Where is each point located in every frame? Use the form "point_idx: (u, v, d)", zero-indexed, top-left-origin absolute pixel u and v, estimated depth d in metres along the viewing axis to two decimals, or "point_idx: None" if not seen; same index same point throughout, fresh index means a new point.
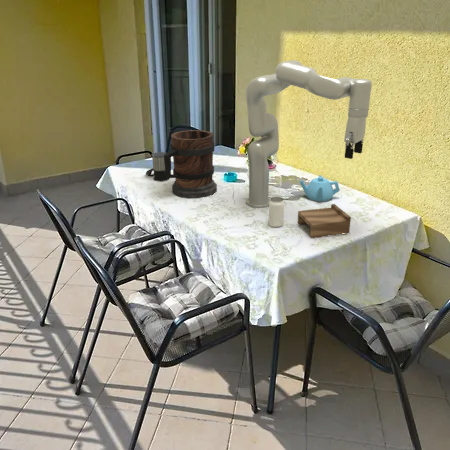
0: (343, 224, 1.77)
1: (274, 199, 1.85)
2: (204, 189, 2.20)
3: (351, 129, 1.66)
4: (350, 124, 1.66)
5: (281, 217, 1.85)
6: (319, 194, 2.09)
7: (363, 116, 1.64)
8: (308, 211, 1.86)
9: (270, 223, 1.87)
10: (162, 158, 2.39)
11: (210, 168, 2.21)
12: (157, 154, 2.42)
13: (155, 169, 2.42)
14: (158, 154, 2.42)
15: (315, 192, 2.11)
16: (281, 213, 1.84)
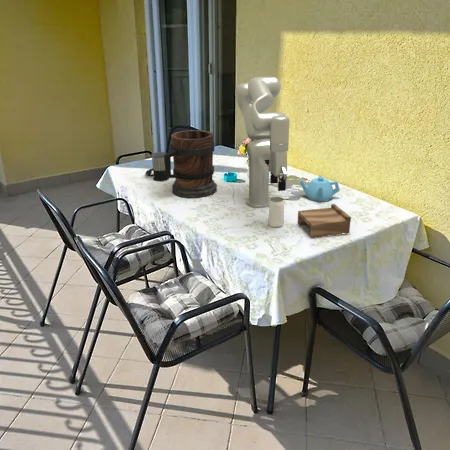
0: (343, 224, 1.77)
1: (274, 199, 1.85)
2: (204, 189, 2.20)
3: (283, 163, 1.72)
4: (281, 159, 1.72)
5: (281, 217, 1.85)
6: (319, 194, 2.09)
7: (287, 149, 1.73)
8: (308, 211, 1.86)
9: (270, 223, 1.87)
10: (162, 158, 2.39)
11: (210, 168, 2.21)
12: (157, 154, 2.42)
13: (155, 169, 2.43)
14: (158, 154, 2.42)
15: (315, 192, 2.11)
16: (281, 213, 1.84)
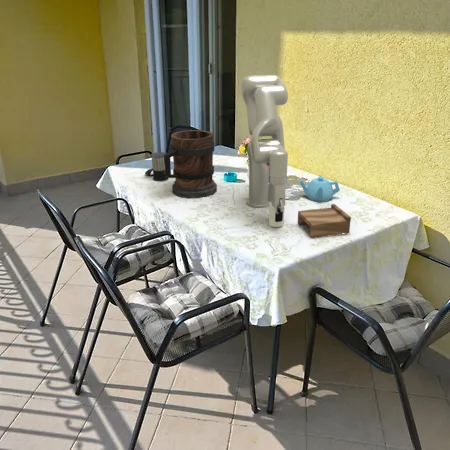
0: (343, 224, 1.77)
1: None
2: (204, 189, 2.20)
3: (281, 196, 1.78)
4: (279, 191, 1.78)
5: None
6: (319, 194, 2.09)
7: (286, 182, 1.79)
8: (308, 211, 1.86)
9: (270, 223, 1.87)
10: (161, 158, 2.39)
11: (210, 168, 2.21)
12: (156, 154, 2.42)
13: (154, 169, 2.43)
14: (157, 154, 2.42)
15: (315, 192, 2.11)
16: None
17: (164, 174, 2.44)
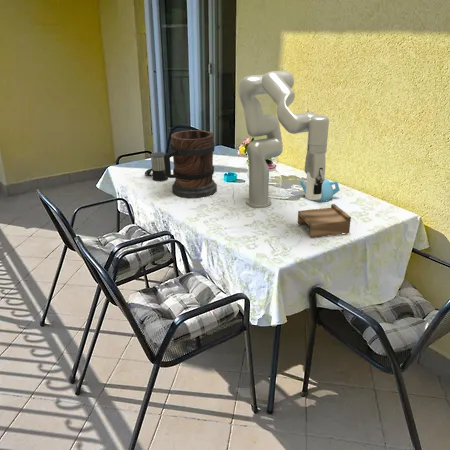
0: (343, 224, 1.77)
1: None
2: (204, 189, 2.20)
3: (321, 165, 1.67)
4: (319, 160, 1.66)
5: None
6: None
7: (326, 150, 1.68)
8: (308, 211, 1.86)
9: (307, 196, 1.75)
10: (160, 158, 2.39)
11: (210, 168, 2.21)
12: (156, 154, 2.42)
13: (154, 169, 2.43)
14: (157, 154, 2.42)
15: None
16: None
17: (163, 174, 2.44)
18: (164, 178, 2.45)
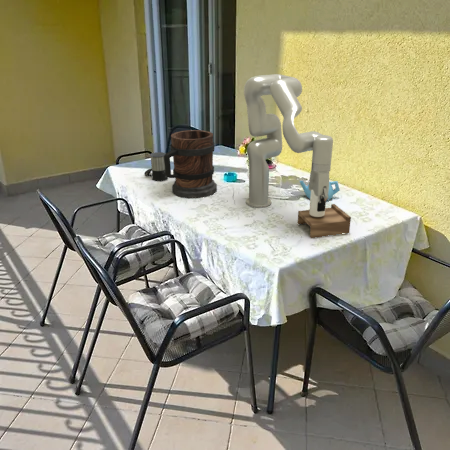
0: (343, 224, 1.77)
1: None
2: (204, 189, 2.20)
3: (325, 184, 1.71)
4: (323, 179, 1.70)
5: None
6: None
7: None
8: (308, 211, 1.86)
9: (311, 213, 1.79)
10: (160, 158, 2.39)
11: (210, 168, 2.21)
12: (155, 154, 2.42)
13: (153, 169, 2.43)
14: (156, 154, 2.42)
15: None
16: None
17: (163, 174, 2.44)
18: (164, 178, 2.45)
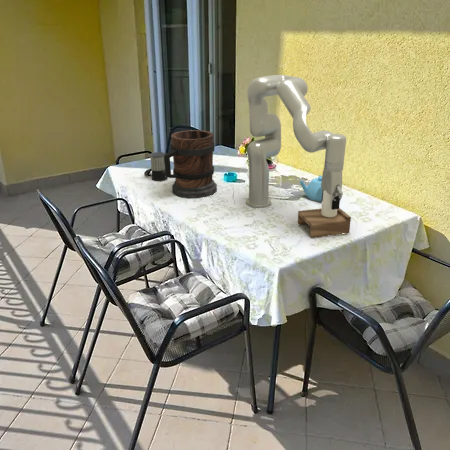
0: (343, 224, 1.77)
1: None
2: (204, 189, 2.20)
3: (338, 182, 1.72)
4: (336, 178, 1.71)
5: None
6: (319, 194, 2.09)
7: None
8: (308, 211, 1.86)
9: (323, 213, 1.81)
10: (160, 158, 2.39)
11: (210, 168, 2.21)
12: (155, 154, 2.42)
13: (153, 169, 2.43)
14: (156, 154, 2.42)
15: (315, 192, 2.12)
16: None
17: (163, 174, 2.44)
18: (163, 178, 2.45)
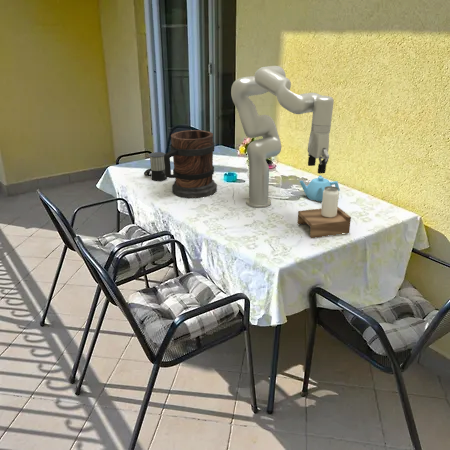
0: (343, 224, 1.77)
1: (328, 188, 1.78)
2: (204, 189, 2.20)
3: (324, 145, 1.69)
4: (323, 141, 1.68)
5: (335, 207, 1.79)
6: (319, 194, 2.09)
7: (329, 131, 1.70)
8: (308, 211, 1.86)
9: (323, 213, 1.81)
10: (159, 158, 2.39)
11: (210, 168, 2.21)
12: (155, 154, 2.42)
13: (152, 169, 2.43)
14: (156, 154, 2.42)
15: (315, 192, 2.12)
16: (336, 203, 1.78)
17: (162, 174, 2.44)
18: (163, 178, 2.45)
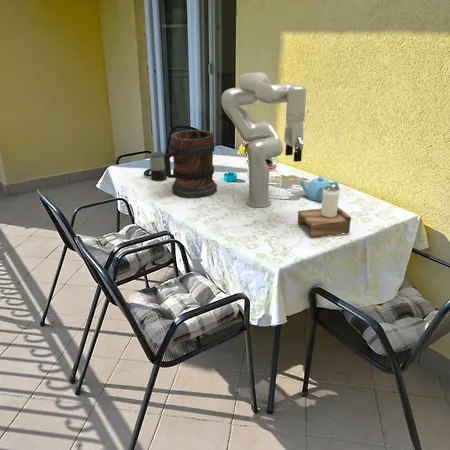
0: (343, 224, 1.77)
1: (328, 188, 1.78)
2: (204, 189, 2.20)
3: (299, 134, 1.73)
4: (297, 129, 1.72)
5: (335, 207, 1.79)
6: (319, 194, 2.09)
7: None
8: (308, 211, 1.86)
9: (323, 213, 1.81)
10: (159, 158, 2.39)
11: (210, 168, 2.21)
12: (154, 154, 2.42)
13: (152, 169, 2.43)
14: (155, 154, 2.42)
15: (315, 192, 2.12)
16: (336, 203, 1.78)
17: (162, 174, 2.44)
18: (162, 178, 2.45)
